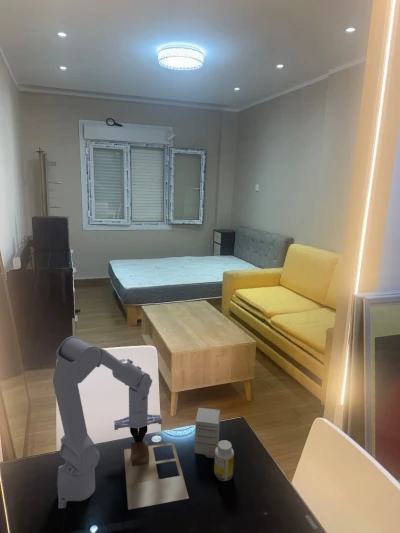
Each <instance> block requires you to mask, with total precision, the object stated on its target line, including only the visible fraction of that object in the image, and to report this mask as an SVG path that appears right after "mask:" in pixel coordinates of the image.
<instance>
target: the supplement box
mask: <svg viewBox="0 0 400 533" xmlns="http://www.w3.org/2000/svg"><path fill="white" fill-rule="evenodd" d="M195 418H196V419H195V426H194V427H195V430H194V454H200V455H204V456H205V458H208V459H215V449H216V448H217V447H218V443H219V442H220V422H221V421H220V419H221V409H213V408H205V407H204V408H203V407H198V408H197V413H196V417H195Z"/></svg>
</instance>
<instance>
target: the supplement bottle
mask: <svg viewBox="0 0 400 533" xmlns="http://www.w3.org/2000/svg"><path fill="white" fill-rule="evenodd" d="M234 456H235V450H234V449H233V446H232V443H231V442H230V441H229V440H225V439H224V440H222V439H221V440H219V443H218V447H217V448H216V449H215V458H214V467H213V475H214V477H215V478H216V479H217V480H219V481H222V482H227V481H230V480H231V479H232V478H233V474H234V463H235V462H234V461H235V460H234V458H235V457H234Z"/></svg>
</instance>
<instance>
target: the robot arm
mask: <svg viewBox="0 0 400 533" xmlns="http://www.w3.org/2000/svg"><path fill="white" fill-rule="evenodd" d="M55 356H56V359H57V360H56V364H55V369H54V373H53V378H52V384H53V388H54V393H55V394H54V395H55V398H56V401H57V402H56V403H57V406H58V412H59V416H60V420H61V425H62V429H63V433H64V435H63V436H62V437H61V438H60V443H61V446H60V449H59V455H60V457H61V458H62V459H64V464H62V465H60V466H58V471H57V495H58V496H57V499H58V501H57V502H58V505H57V506H58V509H60V510H61V509H66V507H67V502H82V501H85V500H87V499H88V498H90V497H91V496H92V495H93V494H94V492H95V491H96V477H95V476H96V475H95V474H96V473H95V468H96V467H97V466H98V463H99V462H100V456H101V453H100V451H99V450H98V449H97V448H96V447H95V445H96V444H95V442H93V440H92V439H91V437H90V435H89V433H88V431H87V430H88V429H87V424H86V419H85V414H84V411H83V410H84V408H83V405H82V399H81V392H80V389H79V384H81V383H82V382H84V381H85V379H86V378H88V376H89V375H90V374H91V373H92V372H93V371H94V370H95V369H96V368H100V367H101V365H102V366H104V367H105V368H107V369H110V370H111V372H112V376H113V378H114V379H116V380H117V381H120V382H121V383H123V384H124V385H125V386H127V387H128V416H126V417H123V418H120V419H116V420H114V421H113V423H114V424H113V426H114V431H119V429H125V428H129V432H130V435H131V436H132V438H133V439H134V443H135V442H142V441H144V440H143V439H144V438H145V435H146V434H147V433H148V426H149V425H153V424H154V425H155V424H158V425H162V424H163V418H162V414H149V413H148V412H149V411H148V410H149V408H148V407H149V404H148V403H149V402H148V401H149V393H150V388H151V387H152V385H153V384H152V383H153V379H152V378H151V375H150V374H149V373H147V372H145V371H143V370H142V368H141V367H140V366H139V365H134V361H133V360H131V359H129V358H127V359H125V358H124V359H118V358H116V356H114V355H113V354H111V353H110V352H109V351H107V350H106V349H104V348H102V347H100V346H98V345H96V344H93V343H91V342H89V341H86V340H85V339H84V340H83V339H80V338H79V337H77V336H74V335H71V336H69V337H66V338H65V339H64V340H63V341H62V342H61V343H60V345H59V346H58V348H57V349H56V351H55Z"/></svg>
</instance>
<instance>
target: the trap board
mask: <svg viewBox="0 0 400 533" xmlns="http://www.w3.org/2000/svg"><path fill="white" fill-rule="evenodd" d="M175 444H176V443H175V442H174V441H173V442H167V443H160V444H153V445H152V444H151V445H148V449H149V464H144V465H137V466H132V461H131V448H125V449H123V454H124V455H123V456H124V469H125V470H124V471H125V482H126V484H125V485H126V496H127V509H128V511H130V510H134V509H139V508H144V507H150V506H151V507H152V506H154V505H155V506H157V505H161V504H165V503H166V504H167V503H172V502H177V501H182V500H188V499H190V497H189V494H188V490H187V489H188V488H187V487H186V486H187V485H186V482H185V478H184V475H183V470H182V467H181V463H180V460H179V457H178V452H177V448H176V446H175ZM168 446H171V450H172V453H173V455H174V456H173V457H174V458H170V459H168V458H167V459H163V460H156V457H155V456H156V455H155V453H154V452H155V451H154V448H160V447H168ZM170 462H175V464H176V468H177V473H178V475H176V476H171V477H165V478H159V473H158V469H157V464H158V465H159V464H163V463H164V464H165V463H170Z"/></svg>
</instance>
